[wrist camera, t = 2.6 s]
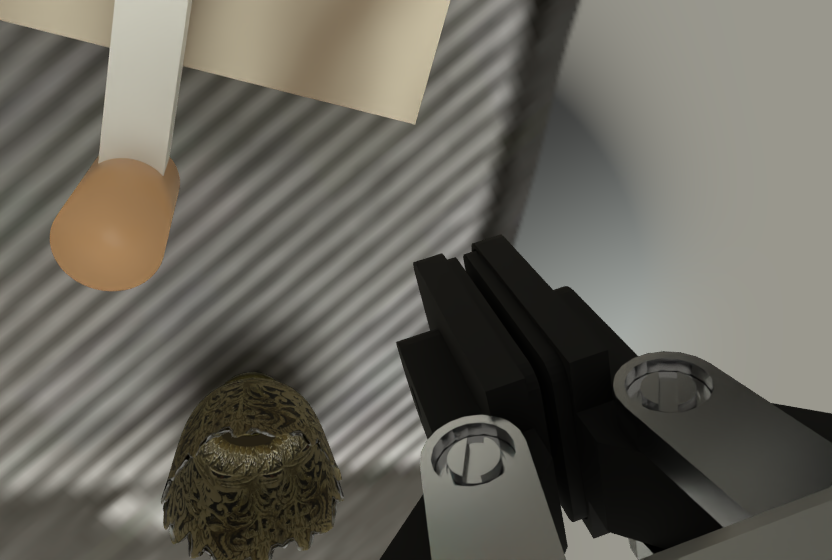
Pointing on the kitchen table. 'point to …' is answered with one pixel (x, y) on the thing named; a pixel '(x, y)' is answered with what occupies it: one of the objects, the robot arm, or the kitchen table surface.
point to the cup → (251, 473)
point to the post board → (287, 44)
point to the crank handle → (129, 154)
